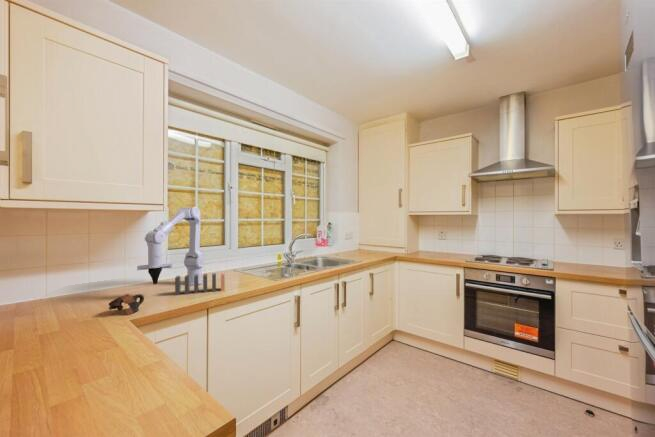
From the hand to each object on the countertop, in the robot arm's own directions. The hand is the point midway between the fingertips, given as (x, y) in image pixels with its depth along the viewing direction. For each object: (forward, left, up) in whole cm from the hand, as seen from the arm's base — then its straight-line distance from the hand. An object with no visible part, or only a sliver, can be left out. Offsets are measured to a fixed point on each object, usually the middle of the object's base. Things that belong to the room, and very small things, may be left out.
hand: (155, 283), depth 136 cm
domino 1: (0, +10, -6) cm, 11 cm away
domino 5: (0, +26, -6) cm, 27 cm away
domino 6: (0, +31, -6) cm, 31 cm away
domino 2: (0, +14, -6) cm, 15 cm away
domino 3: (0, +18, -6) cm, 19 cm away
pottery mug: (+21, -6, -6) cm, 23 cm away
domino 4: (0, +22, -6) cm, 23 cm away
